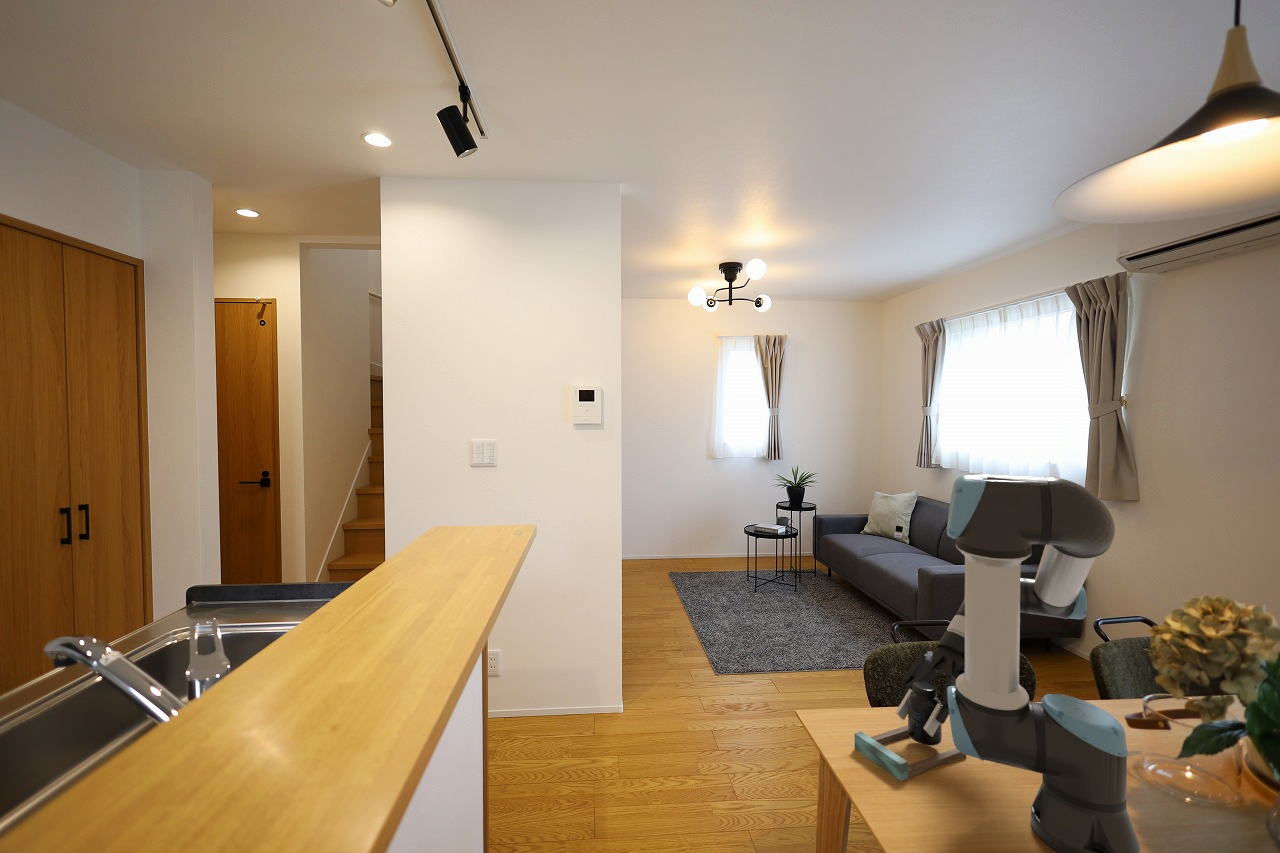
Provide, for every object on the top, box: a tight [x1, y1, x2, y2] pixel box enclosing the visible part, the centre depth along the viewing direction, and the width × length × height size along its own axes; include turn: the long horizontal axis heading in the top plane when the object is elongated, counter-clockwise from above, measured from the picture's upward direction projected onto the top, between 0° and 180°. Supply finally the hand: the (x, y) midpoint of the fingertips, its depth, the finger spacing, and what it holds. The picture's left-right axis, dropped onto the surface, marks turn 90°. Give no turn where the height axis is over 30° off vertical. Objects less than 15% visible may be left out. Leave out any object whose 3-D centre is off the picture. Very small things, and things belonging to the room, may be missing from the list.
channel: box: [854, 724, 967, 782], centre depth 124 cm, size 12×20×4 cm, turn 114°
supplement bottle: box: [907, 681, 943, 746], centre depth 126 cm, size 7×7×12 cm
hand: (913, 724), depth 125 cm, fingers closed on supplement bottle, 7 cm apart
